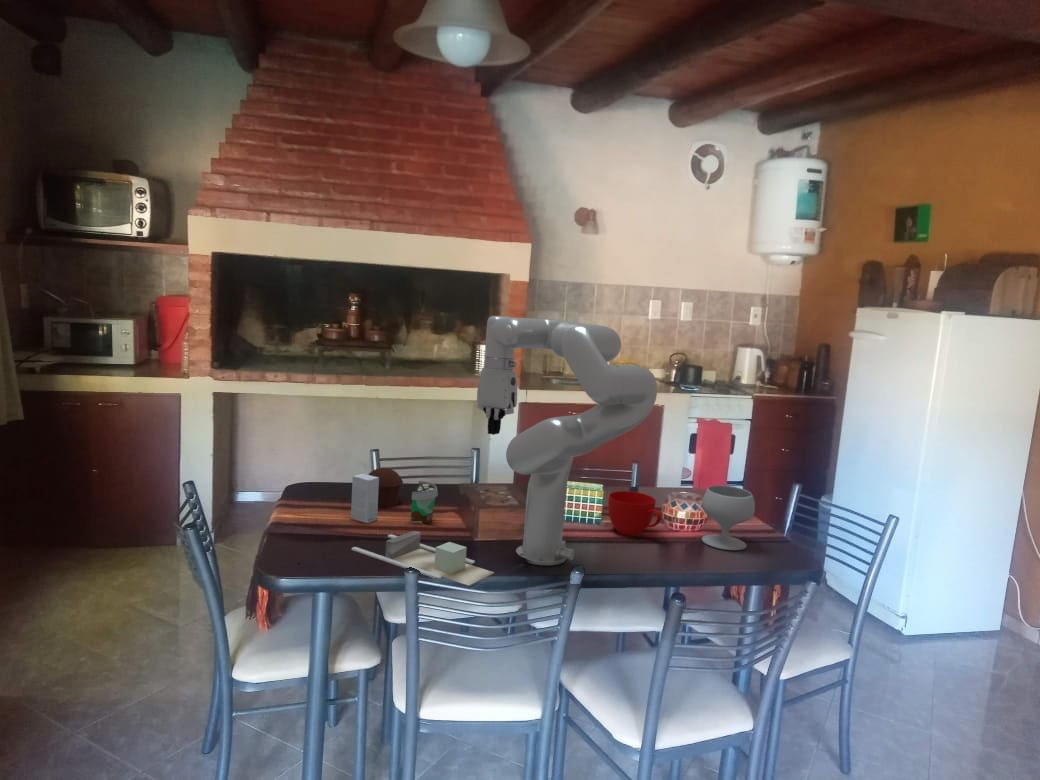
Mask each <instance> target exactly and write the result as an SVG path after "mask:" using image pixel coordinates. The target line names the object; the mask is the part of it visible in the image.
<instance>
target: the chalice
mask: <svg viewBox="0 0 1040 780" xmlns="http://www.w3.org/2000/svg"><path fill="white" fill-rule="evenodd" d="M701 502H702V503H701V505H702V509H703V510H702V511H704V513H705V514H706V515H707V516H709V517H710V518H711V519H712V520H714V521H716V523H718V525H719V526H720V528H721V533H720V534H717V533H716V534H714V533H713V534H706V535H703V536H702V537H701V542H702V543H704V544H705V545H707V546H710V547H713V548H716V549H719V550H726V551H741V550H745V549H747V547H748V545H747V543H746V542H744V541H743V540H742V539H739V538H737V537H733V536H730V534H729V533H730V530H731V529H732V528H733V527H735V526H736V525H737V526H738V525H739V524H743V523H745V522H747V521H749V520H751V519H752V517H753V516H755V512H756V511H755V510H756V505H755V503H756V502H755V498H754V495H753V494H752V492H751V491H749V490H747V489H743V488H740V487H736V486H730V485H721V484H720V485H719V484H717V485H711V486H708V488H706V491H705V493H704V494H703V498H702V501H701Z"/></svg>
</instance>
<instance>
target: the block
mask: <svg viewBox="0 0 1040 780" xmlns="http://www.w3.org/2000/svg"><path fill="white" fill-rule="evenodd" d="M435 548H436V550H435V552H434V553H435V565H434V568H435V569H438V570H441V571H444V572H447V573H450V574H454V573H456V572H458V571H460V570H462V569H464V568H465V563H466V564H467V562H466V558H467V549H468V547H467V546H464V545H460V544H457V543H454V542H451V541H448V542H445V543H443V544H440V545H438V546H435Z"/></svg>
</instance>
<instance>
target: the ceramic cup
mask: <svg viewBox="0 0 1040 780" xmlns="http://www.w3.org/2000/svg"><path fill="white" fill-rule="evenodd" d="M656 502H657V501H656V499H655V498H654V497H653V496H651V495H649V494H645V493H642V492H637V491H627V490H624V491H623V490H621V491H620V490H618V491H613V492H610V493H609V495H608V504H607V505H608V506H607V507H608V508H607V509H608V515H609V519H610V522H611V524H612V526H613V527H614V528H615V530H616V532H617V533H618V534H620V535H624V536H632V537H635V536H636V537H637V536H640V535H641V534H642V533H643V532H644V531H646V529H647V528H653V527H657V525H659V524H660V522H661V520H662V515H661V512H660V511H659V510H658V509H655V508H656ZM654 513H655V515H656V521H655V522H654V523H651V522H652V519H653V517H654Z"/></svg>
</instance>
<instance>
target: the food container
mask: <svg viewBox="0 0 1040 780" xmlns="http://www.w3.org/2000/svg"><path fill="white" fill-rule="evenodd" d="M438 495H439V492H438V488H437V485H436V484H435V483H432V482H429V481H425V480H418V486H416V487H415V489H414V491H412V492H411V511H410V512H411V513H410V514H411V515H410V516H411V517H410V524H411V523H412V524H423V525H426V526H430V525H431V524H432V522H433V516H434V510H435V509H434V508H435V500H436V498H437V497H438Z"/></svg>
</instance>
